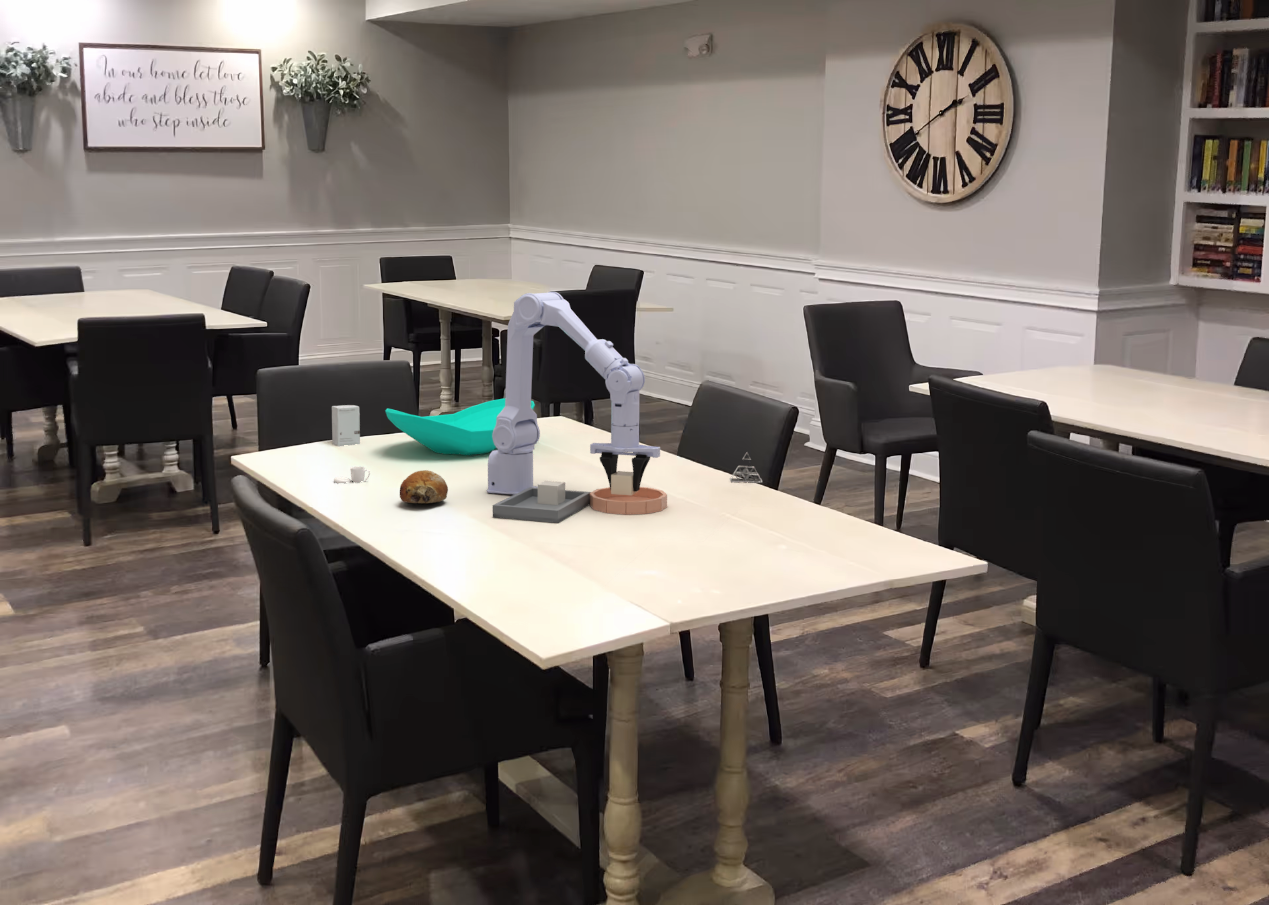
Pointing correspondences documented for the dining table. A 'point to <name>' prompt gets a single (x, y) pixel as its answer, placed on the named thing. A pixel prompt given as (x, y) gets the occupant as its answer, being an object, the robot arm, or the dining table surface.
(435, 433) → the table top decor
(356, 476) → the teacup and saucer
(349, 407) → the skincare box
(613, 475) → the cream matte cube
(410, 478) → the bread roll
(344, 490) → the dining table surface
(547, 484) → the greyish beige cube
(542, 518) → the parts tray
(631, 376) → the robot arm
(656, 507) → the bowl
